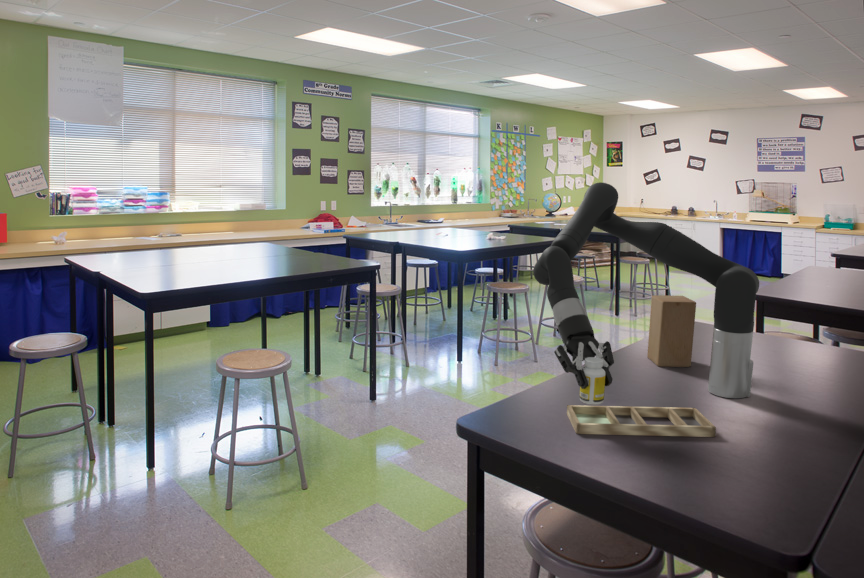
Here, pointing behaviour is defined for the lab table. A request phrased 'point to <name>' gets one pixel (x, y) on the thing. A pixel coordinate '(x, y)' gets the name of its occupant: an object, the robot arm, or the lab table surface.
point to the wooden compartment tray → (638, 421)
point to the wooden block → (671, 331)
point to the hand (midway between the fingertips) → (596, 385)
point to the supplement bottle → (593, 381)
